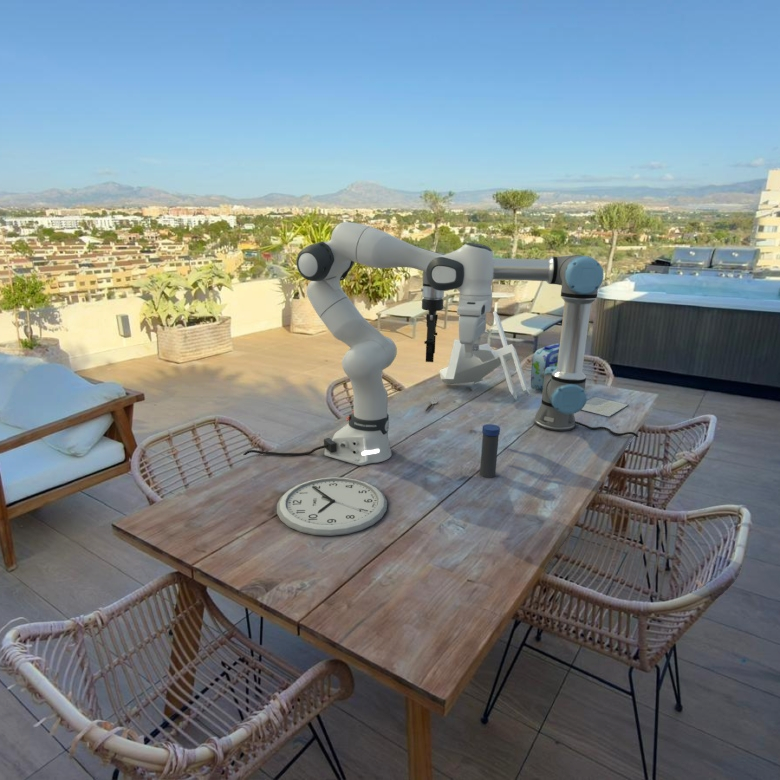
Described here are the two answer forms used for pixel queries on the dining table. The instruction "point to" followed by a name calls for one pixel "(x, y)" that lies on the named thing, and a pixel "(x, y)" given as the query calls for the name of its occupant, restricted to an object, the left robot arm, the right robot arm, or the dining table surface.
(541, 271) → the right robot arm
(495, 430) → the lid
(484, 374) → the white plastic object
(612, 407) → the invitation card
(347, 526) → the wall clock
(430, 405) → the fork
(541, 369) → the lunch box
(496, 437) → the dark grey cylinder
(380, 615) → the dining table surface
